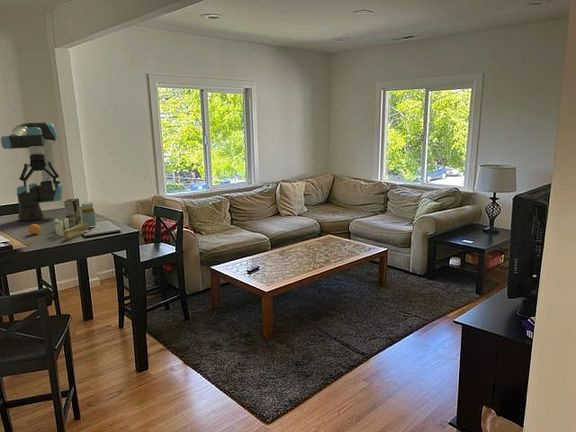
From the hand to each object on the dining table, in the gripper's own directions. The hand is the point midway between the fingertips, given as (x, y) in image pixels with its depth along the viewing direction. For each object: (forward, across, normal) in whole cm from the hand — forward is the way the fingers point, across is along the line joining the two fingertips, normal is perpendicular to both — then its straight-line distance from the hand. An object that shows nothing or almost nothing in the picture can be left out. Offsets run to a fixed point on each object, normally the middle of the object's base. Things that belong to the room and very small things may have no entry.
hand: (41, 191), depth 251 cm
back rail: (+28, +18, -9) cm, 34 cm away
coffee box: (+22, +12, +17) cm, 30 cm away
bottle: (+24, +22, +9) cm, 34 cm away
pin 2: (+26, +12, -4) cm, 29 cm away
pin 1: (+27, +10, -8) cm, 30 cm away
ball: (+21, -6, +1) cm, 22 cm away
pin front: (+26, +8, -4) cm, 28 cm away
